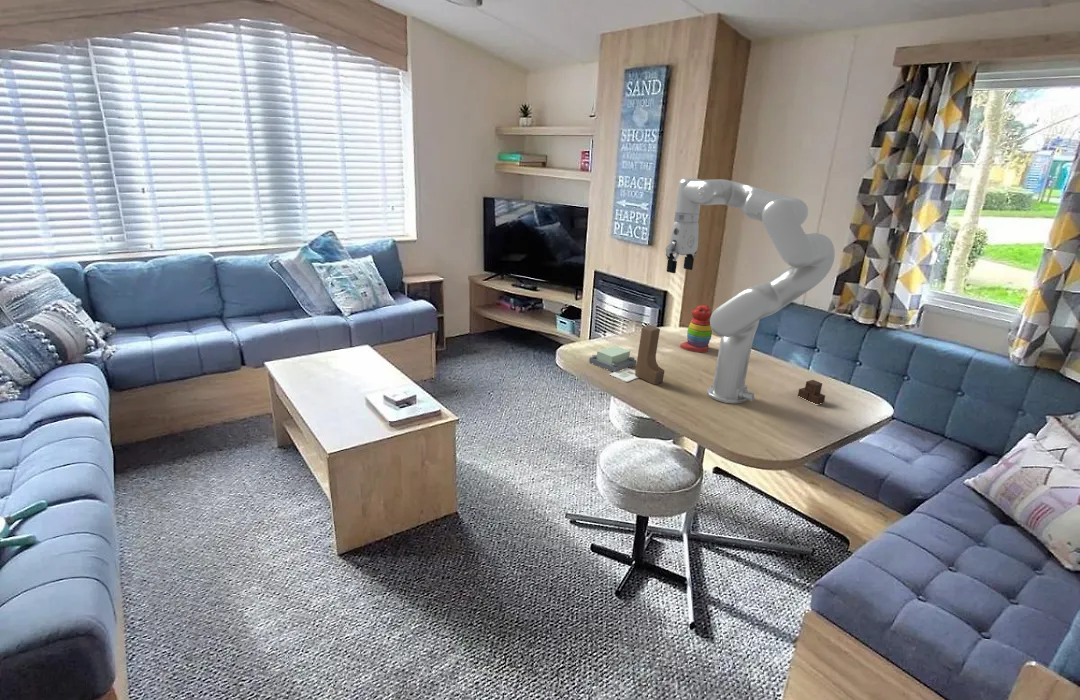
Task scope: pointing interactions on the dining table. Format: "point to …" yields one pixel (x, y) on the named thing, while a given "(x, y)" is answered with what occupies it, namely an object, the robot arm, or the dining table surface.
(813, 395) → the stack of crates
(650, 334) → the wooden block
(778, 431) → the dining table surface
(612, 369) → the baseplate
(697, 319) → the stacking bear
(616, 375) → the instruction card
